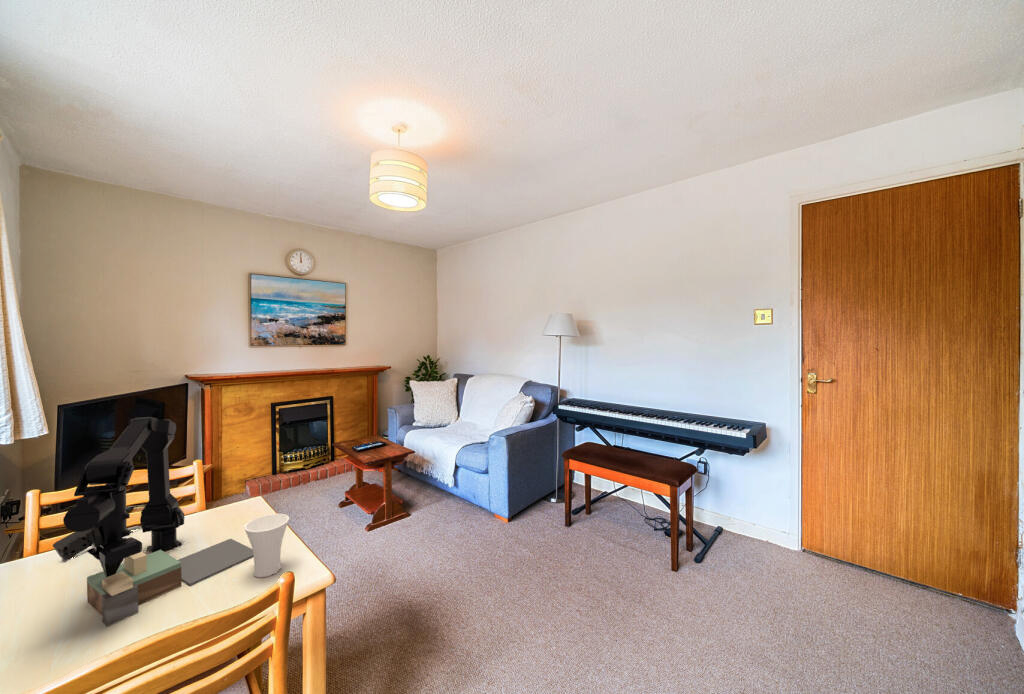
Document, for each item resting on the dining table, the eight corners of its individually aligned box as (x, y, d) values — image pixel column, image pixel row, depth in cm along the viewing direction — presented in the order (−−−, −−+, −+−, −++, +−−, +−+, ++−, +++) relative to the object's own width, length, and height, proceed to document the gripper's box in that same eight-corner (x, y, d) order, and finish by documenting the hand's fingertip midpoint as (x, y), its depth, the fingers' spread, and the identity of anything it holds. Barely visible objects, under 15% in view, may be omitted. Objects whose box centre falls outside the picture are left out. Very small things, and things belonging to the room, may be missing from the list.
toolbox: (83, 603, 94) (83, 578, 94) (161, 572, 107) (160, 550, 106) (107, 626, 87) (106, 599, 86) (187, 589, 99) (186, 566, 99)
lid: (86, 582, 94) (86, 560, 94) (160, 554, 106) (160, 535, 106) (105, 598, 88) (105, 576, 88) (181, 566, 101) (180, 547, 100)
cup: (240, 570, 107) (239, 522, 107) (282, 555, 115) (282, 510, 115) (250, 587, 100) (250, 535, 100) (295, 570, 108) (294, 521, 108)
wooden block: (102, 587, 90) (101, 579, 90) (122, 579, 93) (122, 571, 93) (111, 596, 87) (111, 587, 87) (132, 587, 90) (132, 578, 90)
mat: (162, 568, 108) (162, 565, 108) (230, 540, 123) (230, 538, 123) (189, 586, 101) (189, 584, 101) (259, 554, 116) (259, 552, 116)
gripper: (44, 516, 89) (46, 584, 89) (71, 537, 80) (72, 612, 80) (112, 499, 99) (113, 560, 99) (142, 515, 90) (143, 582, 90)
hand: (110, 577), depth 92 cm, fingers closed
